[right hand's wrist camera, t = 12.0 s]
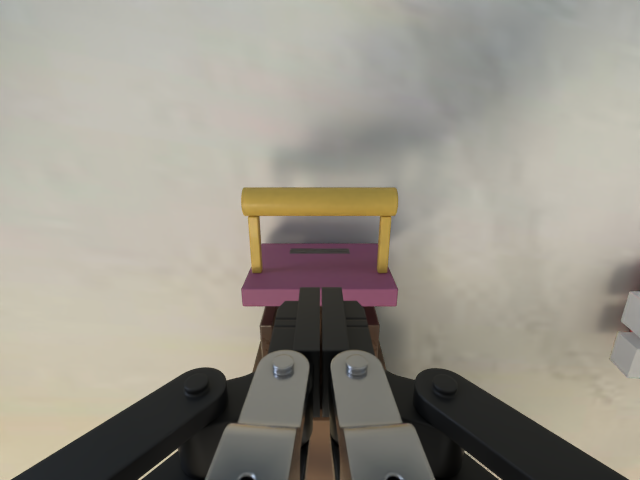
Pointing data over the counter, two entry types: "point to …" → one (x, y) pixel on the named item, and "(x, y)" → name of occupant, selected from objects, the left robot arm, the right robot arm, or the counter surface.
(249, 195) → the drawer
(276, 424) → the right robot arm
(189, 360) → the counter surface
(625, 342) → the toy
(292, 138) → the counter surface
